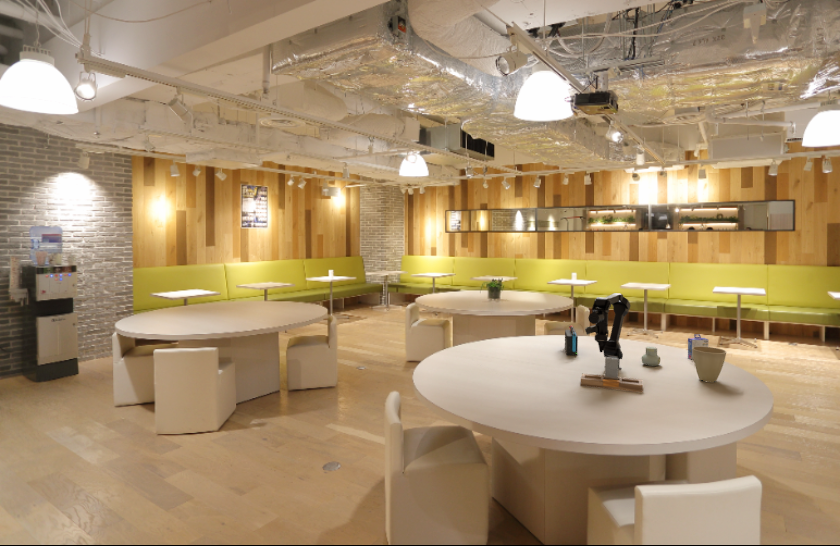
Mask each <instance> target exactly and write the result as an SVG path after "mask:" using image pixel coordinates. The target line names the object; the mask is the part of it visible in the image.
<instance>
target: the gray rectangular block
mask: <svg viewBox="0 0 840 546" xmlns="http://www.w3.org/2000/svg"><path fill="white" fill-rule="evenodd" d="M604 376H605V379H610V380H618V377H619V369H618V358H612V357H604Z"/></svg>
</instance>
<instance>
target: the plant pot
mask: <svg viewBox="0 0 840 546" xmlns="http://www.w3.org/2000/svg"><path fill="white" fill-rule="evenodd" d="M726 356H727V350H725V349H722V348H717V347H712V346H708V347H702V346H698V347H693V357H694V360H693V361H694V366H695V367H694V368H695V370H696V374H697V376H698V379H699V380H700V381H701V380H703V381H702V382H704V381H707V383H715V382H714V381H716V382H717V381H718V378H719V376H720V374H721V372H722V370H723V366H724V364H725V360H726Z"/></svg>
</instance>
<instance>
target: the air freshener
mask: <svg viewBox="0 0 840 546" xmlns="http://www.w3.org/2000/svg"><path fill="white" fill-rule="evenodd" d="M641 362H642V364H644V365H645V366H649V367H656V366H659V365H660V363H661V357H660V355H658V347H655V346H646V347H645V354H643V355H642V358H641Z"/></svg>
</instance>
